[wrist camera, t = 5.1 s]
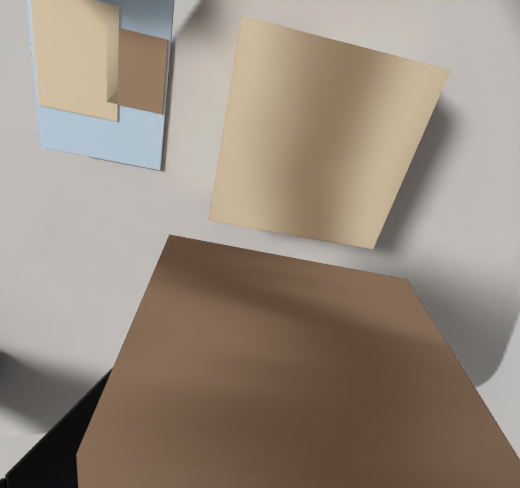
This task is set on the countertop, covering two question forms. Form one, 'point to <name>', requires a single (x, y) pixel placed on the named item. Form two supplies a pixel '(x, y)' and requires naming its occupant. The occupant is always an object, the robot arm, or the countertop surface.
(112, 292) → the countertop surface
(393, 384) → the walnut block
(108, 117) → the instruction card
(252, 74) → the base block
